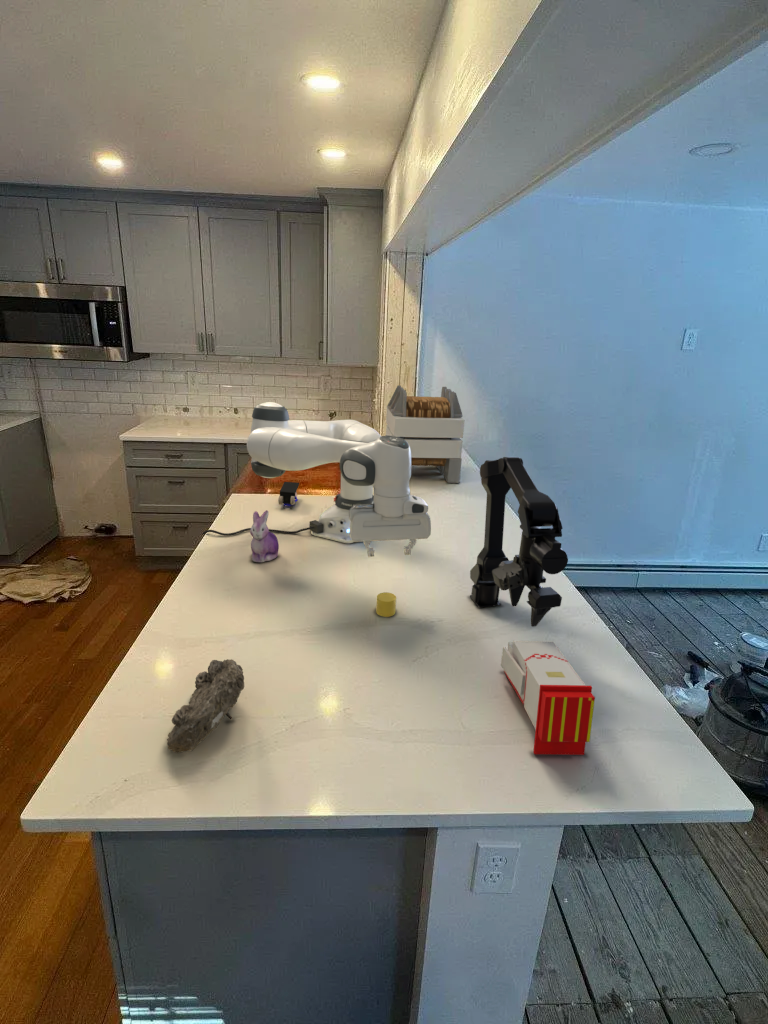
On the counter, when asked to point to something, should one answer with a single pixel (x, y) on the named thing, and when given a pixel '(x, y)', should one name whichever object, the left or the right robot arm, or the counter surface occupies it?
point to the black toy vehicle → (288, 494)
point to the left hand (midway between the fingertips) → (389, 555)
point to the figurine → (262, 539)
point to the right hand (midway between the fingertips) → (523, 615)
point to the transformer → (429, 429)
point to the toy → (550, 696)
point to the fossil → (206, 705)
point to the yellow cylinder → (386, 604)
